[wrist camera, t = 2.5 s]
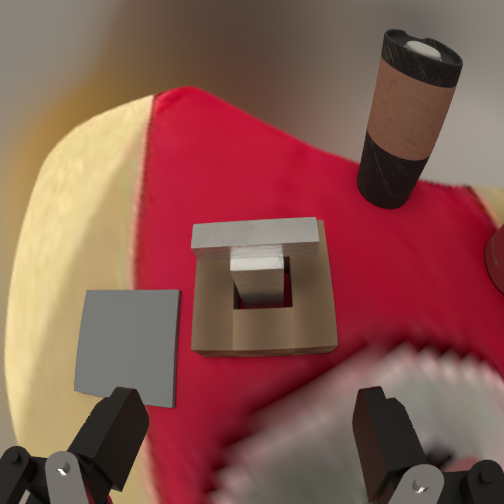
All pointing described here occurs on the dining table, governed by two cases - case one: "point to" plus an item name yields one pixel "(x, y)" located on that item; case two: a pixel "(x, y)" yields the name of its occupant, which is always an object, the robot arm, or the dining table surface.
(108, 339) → the grey mat
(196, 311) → the socket block
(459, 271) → the dining table surface
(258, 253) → the t key
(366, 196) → the travel mug
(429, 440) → the dining table surface
